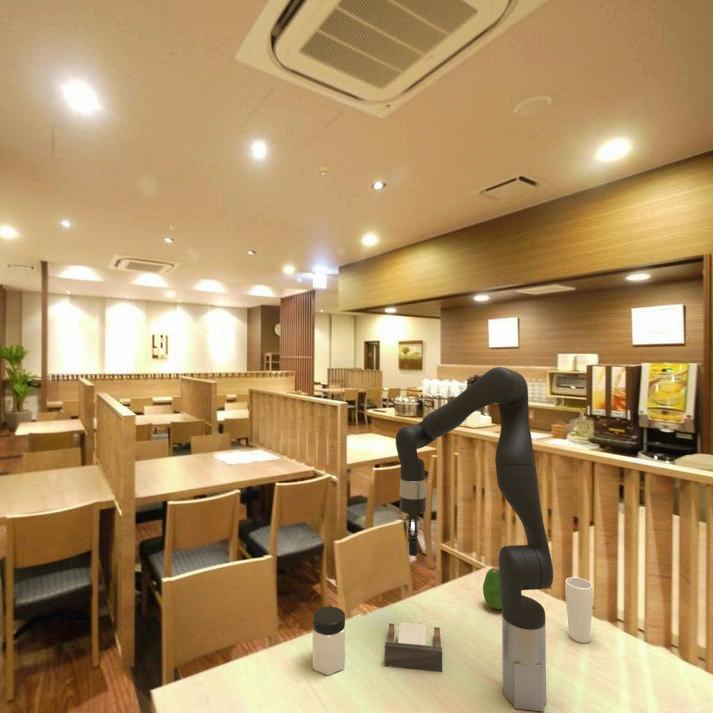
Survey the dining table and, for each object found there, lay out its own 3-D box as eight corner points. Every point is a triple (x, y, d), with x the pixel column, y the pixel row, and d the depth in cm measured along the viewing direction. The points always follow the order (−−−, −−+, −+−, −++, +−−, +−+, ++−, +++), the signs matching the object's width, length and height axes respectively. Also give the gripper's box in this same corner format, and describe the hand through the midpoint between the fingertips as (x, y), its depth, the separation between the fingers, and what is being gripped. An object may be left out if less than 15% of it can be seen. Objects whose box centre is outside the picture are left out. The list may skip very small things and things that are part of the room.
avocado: (477, 604, 136) (477, 565, 137) (497, 599, 139) (497, 561, 140) (495, 618, 129) (494, 577, 129) (515, 612, 132) (515, 572, 132)
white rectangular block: (426, 664, 109) (425, 645, 109) (398, 661, 110) (397, 642, 110) (425, 641, 118) (425, 624, 118) (399, 639, 119) (399, 622, 119)
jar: (304, 667, 108) (304, 618, 108) (323, 648, 115) (323, 602, 115) (335, 680, 103) (335, 628, 104) (352, 660, 110) (352, 612, 111)
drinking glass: (587, 631, 122) (586, 577, 123) (598, 646, 116) (597, 589, 116) (562, 629, 123) (561, 576, 123) (571, 645, 116) (570, 588, 117)
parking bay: (442, 671, 106) (442, 651, 106) (385, 666, 108) (384, 645, 108) (439, 636, 120) (439, 618, 120) (388, 632, 122) (388, 614, 122)
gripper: (426, 501, 120) (426, 565, 119) (425, 489, 133) (425, 546, 132) (398, 500, 121) (399, 564, 120) (400, 488, 134) (400, 545, 133)
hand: (412, 554), depth 126 cm, fingers closed
